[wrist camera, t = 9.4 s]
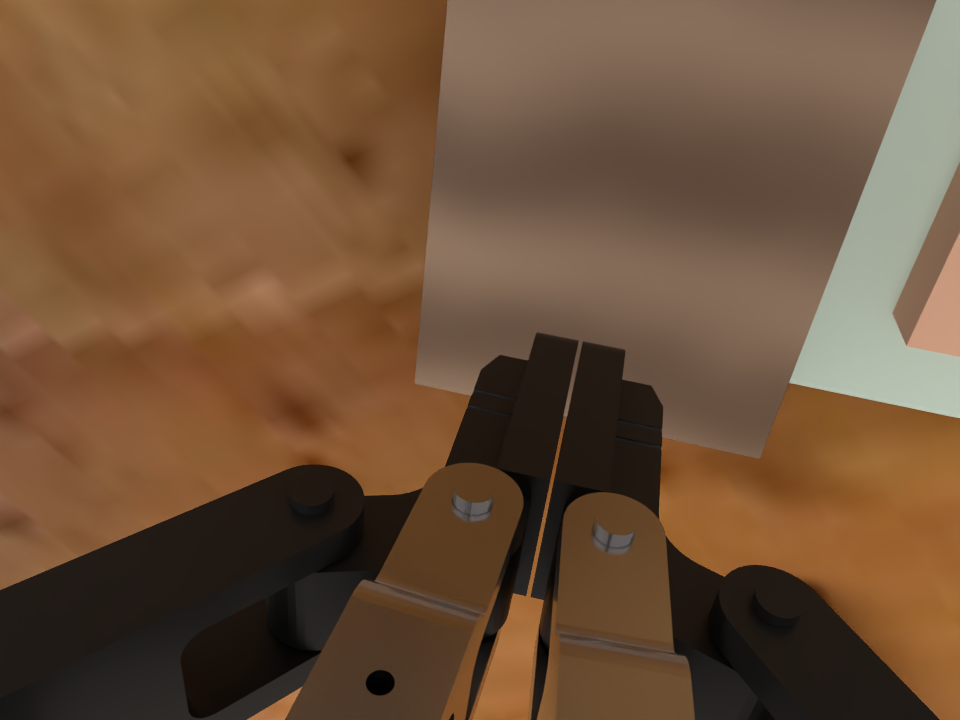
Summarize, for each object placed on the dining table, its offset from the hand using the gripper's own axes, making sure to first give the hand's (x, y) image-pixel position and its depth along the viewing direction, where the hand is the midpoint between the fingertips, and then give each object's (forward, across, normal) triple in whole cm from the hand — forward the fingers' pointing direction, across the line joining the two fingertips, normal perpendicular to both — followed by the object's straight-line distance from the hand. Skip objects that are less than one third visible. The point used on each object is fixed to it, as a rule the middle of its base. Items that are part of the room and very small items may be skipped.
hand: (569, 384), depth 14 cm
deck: (+16, -1, 0) cm, 16 cm away
